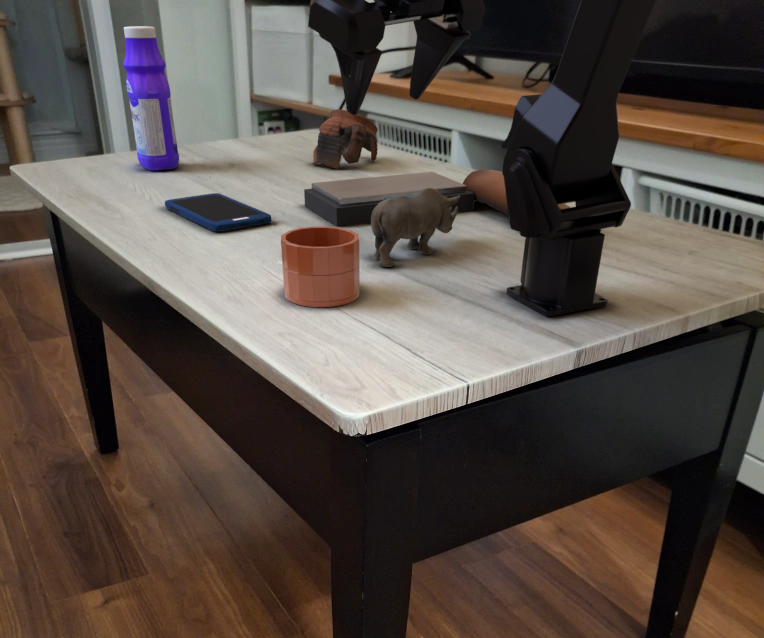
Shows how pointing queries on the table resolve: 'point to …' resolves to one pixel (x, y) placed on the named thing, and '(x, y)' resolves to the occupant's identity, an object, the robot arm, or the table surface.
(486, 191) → the sunglasses case
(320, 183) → the scale
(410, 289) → the table surface
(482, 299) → the table surface
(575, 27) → the robot arm
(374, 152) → the brown irregular curved piece
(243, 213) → the cell phone
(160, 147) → the bottle
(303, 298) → the cup
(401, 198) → the rhino figurine
